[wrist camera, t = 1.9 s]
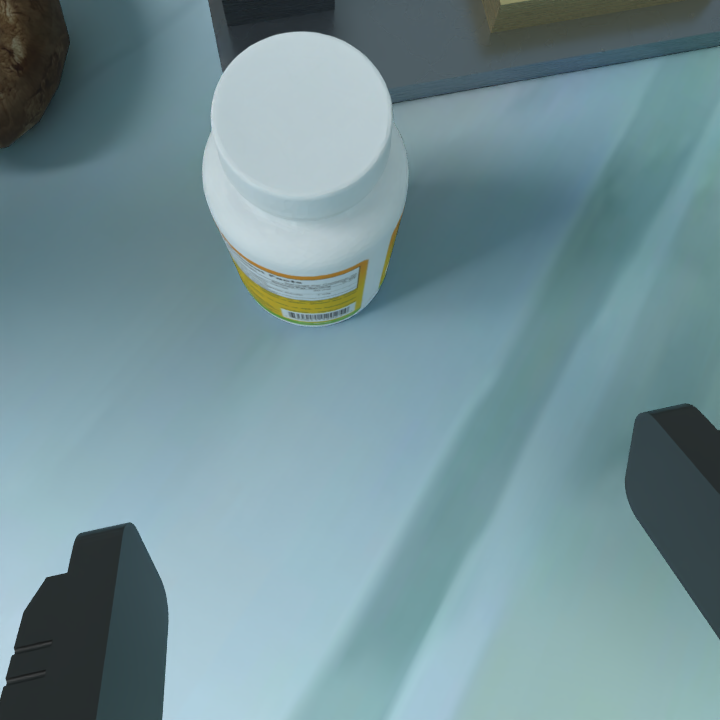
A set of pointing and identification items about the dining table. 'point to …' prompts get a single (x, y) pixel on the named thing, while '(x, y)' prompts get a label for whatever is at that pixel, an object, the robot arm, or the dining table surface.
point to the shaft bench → (475, 35)
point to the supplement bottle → (306, 175)
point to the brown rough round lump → (29, 62)
